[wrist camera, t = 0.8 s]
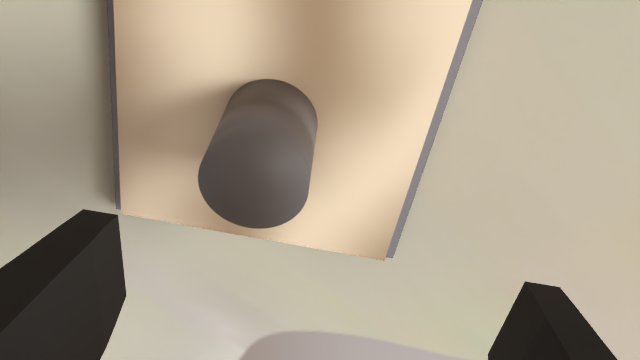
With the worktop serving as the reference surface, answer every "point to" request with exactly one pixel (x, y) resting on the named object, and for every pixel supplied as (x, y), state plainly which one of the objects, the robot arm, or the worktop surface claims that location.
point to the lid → (279, 113)
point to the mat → (426, 147)
